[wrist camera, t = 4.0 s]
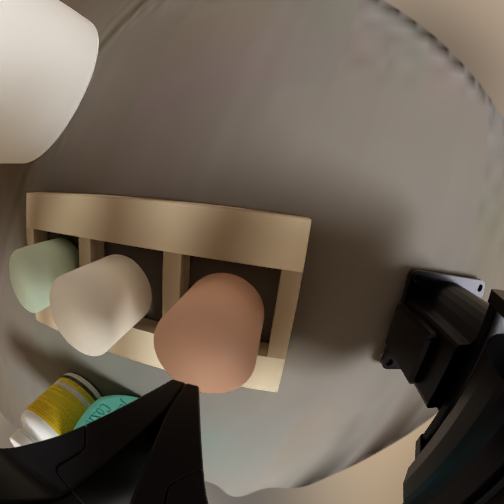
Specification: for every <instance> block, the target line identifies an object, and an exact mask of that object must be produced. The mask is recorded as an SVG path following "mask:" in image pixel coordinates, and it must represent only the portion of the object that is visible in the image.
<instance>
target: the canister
mask: <svg viewBox="0 0 504 504" xmlns="http://www.w3.org/2000/svg"><path fill="white" fill-rule="evenodd" d="M98 47H99V38H98V33H97V30H96V28H95V26H94V25H93V23H91V22H90V21H89V20H87V19H86V18H84V17H83V16H82V15H80V14H79V13H77V12H76V11H74V10H73V9H71V8H70V7H68V6H67V5H65V4H64V3H62V2H61V1H59V0H0V163H20V164H23V163H28V162H31V161H33V160H35V159H37V158H38V157H40V156H41V155H42V154H44V153H45V152H46V151H47V150H48V149H49V148H50V147H51V146H52V145H53V144H54V142H55V141H56V140H57V139H58V137H59V136H60V135H61V133H62V132H63V131H64V129H65V128H66V126H67V125H68V123H69V122H70V120H71V118H72V117H73V115H74V113H75V111H76V110H77V108H78V106H79V104H80V102H81V100H82V98H83V96H84V94H85V92H86V89H87V87H88V84H89V82H90V79H91V77H92V74H93V71H94V67H95V64H96V60H97V55H98Z"/></svg>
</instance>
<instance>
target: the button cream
mask: <svg viewBox="0 0 504 504" xmlns="http://www.w3.org/2000/svg"><path fill="white" fill-rule="evenodd" d="M151 301H152V293H151V287H150V284H149V281H148V278H147V276H146V275H145V273H144V271H143V270H142V269H141V267H140V266H139V265H138V264H137V263H136V262H134V261H133V260H132V259H130V258H128V257H126V256H124V255H119V254H113V255H109V256H106V257H104V258H101V259H99V260H97V261H94V262H92V263H89V264H87V265H84V266H82V267H80V268H77V269H75V270H73V271H70V272H68V273H66V274H63V275H61V276H59V277H57V278H56V279H55V280H54V282H53V284H52V286H51V289H50V294H49V303H50V309H51V313H52V317H53V319H54V322H55V324H56V326H57V328H58V329H59V331H60V333H61V334H62V336H63V337H64V338H65V339H66V340H67V342H68V343H69V344H70V345H72V346H73V347H74V348H75V349H77V350H78V351H80V352H82V353H84V354H86V355H90V356H99V355H102V354H104V353H105V352H106V351H107V350H108V349H110V348H111V347H112V346H113V345H114V344H115V343H116V342H117V341H118V340H119V339H120V338H121V337H122V336H123V335H125V334H126V333H127V332H128V331H129V330H130V329H131V328H132V327H133V326H134V325H135V324H136V323H138V322H139V321H140V320H141V319H142V318H143V317H144V316H145V315H146V314H147V312H148V311H149V309H150V306H151Z"/></svg>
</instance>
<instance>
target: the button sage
mask: <svg viewBox="0 0 504 504" xmlns="http://www.w3.org/2000/svg"><path fill="white" fill-rule="evenodd" d="M77 268H80V267H79V251H78V249H77V248H76V246H75V245H74V244H73V243H72V242H71V241H70V240H69V239H67V238H64V237H59V238H55V239H51V240H47V241H44V242H40V243H37V244H33V245H29V246H26V247H23V248H19V249H16V250H15V251H14V252H13V253H12V255H11V257H10V262H9V274H10V280H11V284H12V287H13V290H14V293H15V295H16V297H17V299H18V300H19V302H20V303H21V304H22V306H23V307H24V308H25V309H26V310H28V311H29V312H32V313H37V312H39V311H41V310H43V309H45V308H46V307H48V306H50V303H49V294H50V289H51V286H52V284H53V282H54V280H55V279H56V278H57V277H59V276H61V275H63V274H66V273H68V272H70V271H73V270H75V269H77Z"/></svg>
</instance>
